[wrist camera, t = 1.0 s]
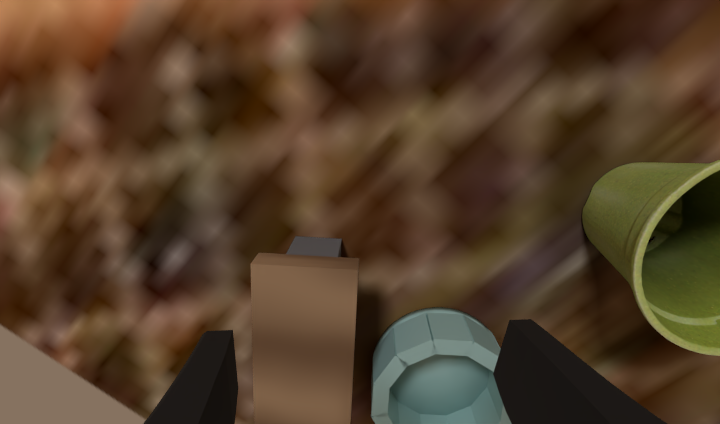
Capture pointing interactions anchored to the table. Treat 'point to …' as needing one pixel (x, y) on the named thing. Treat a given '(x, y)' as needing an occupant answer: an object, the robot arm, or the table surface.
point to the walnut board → (303, 338)
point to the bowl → (436, 371)
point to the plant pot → (664, 244)
